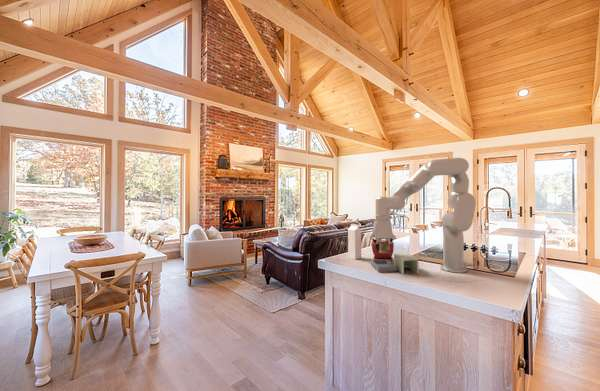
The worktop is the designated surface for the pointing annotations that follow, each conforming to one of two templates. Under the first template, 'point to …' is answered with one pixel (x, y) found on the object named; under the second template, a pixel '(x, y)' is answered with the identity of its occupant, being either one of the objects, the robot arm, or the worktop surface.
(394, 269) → the tray
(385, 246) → the block
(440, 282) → the worktop surface
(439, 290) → the worktop surface
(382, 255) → the plant pot
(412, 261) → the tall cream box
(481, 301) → the worktop surface
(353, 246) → the milk
